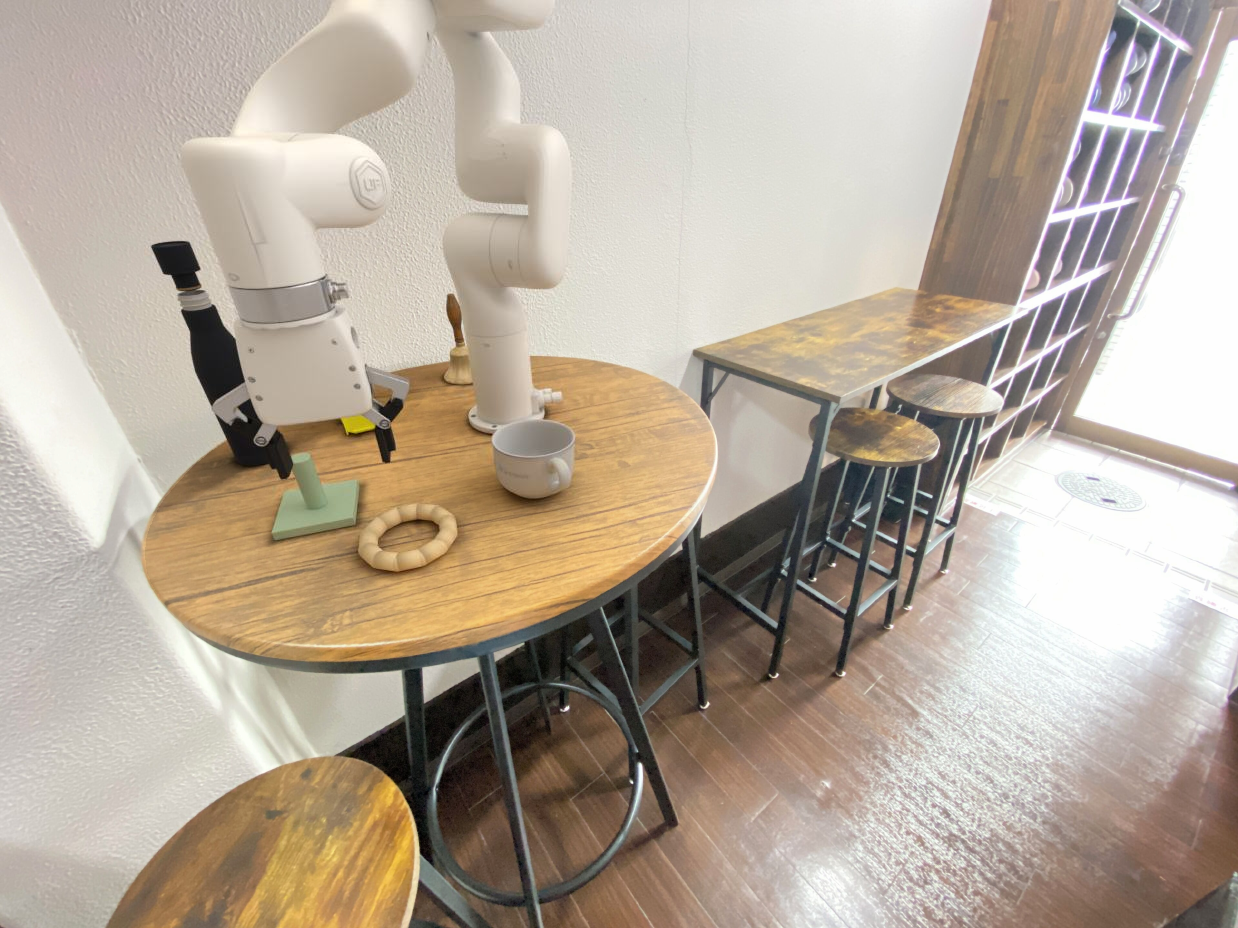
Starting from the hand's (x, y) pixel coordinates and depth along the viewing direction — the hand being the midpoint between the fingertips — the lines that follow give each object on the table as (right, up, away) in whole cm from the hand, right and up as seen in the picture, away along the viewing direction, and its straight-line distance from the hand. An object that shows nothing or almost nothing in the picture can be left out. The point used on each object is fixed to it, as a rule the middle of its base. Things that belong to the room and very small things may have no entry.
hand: (338, 464), depth 56 cm
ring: (+5, -8, +7) cm, 12 cm away
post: (-9, -6, +13) cm, 17 cm away
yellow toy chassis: (-15, +8, +35) cm, 39 cm away
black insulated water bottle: (-24, +1, +24) cm, 34 cm away
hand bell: (-1, +17, +49) cm, 52 cm away
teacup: (+19, -4, +16) cm, 25 cm away
